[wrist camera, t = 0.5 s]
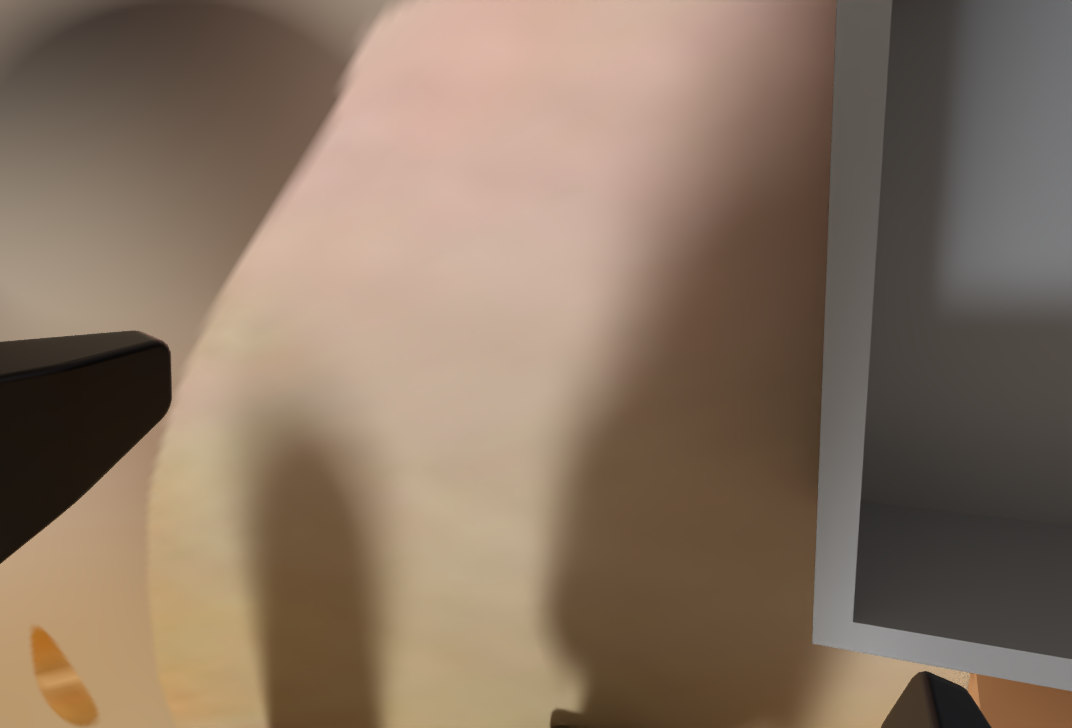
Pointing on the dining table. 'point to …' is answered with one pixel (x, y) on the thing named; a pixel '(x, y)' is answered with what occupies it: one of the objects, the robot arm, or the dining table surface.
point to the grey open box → (949, 339)
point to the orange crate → (1020, 703)
